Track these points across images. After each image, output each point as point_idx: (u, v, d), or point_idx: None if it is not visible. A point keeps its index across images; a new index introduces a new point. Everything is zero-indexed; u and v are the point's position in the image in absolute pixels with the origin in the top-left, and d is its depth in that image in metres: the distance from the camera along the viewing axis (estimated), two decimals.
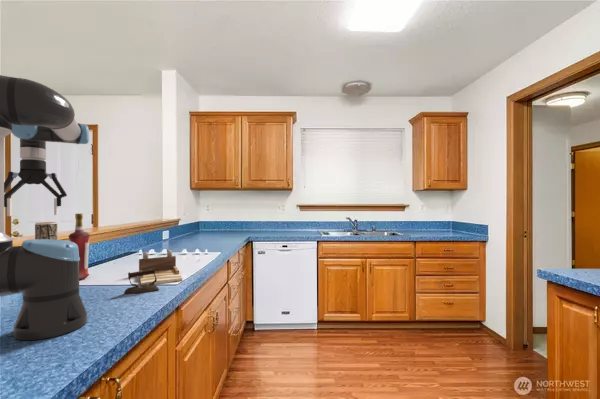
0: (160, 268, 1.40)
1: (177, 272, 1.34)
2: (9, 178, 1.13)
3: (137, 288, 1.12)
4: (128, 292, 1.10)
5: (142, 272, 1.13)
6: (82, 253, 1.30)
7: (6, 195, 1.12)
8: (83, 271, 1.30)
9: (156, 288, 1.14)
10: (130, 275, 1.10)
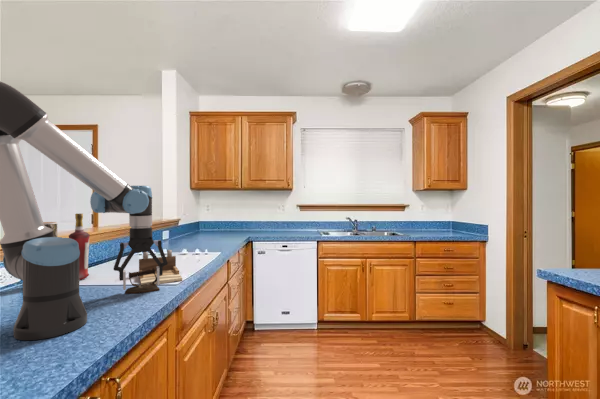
0: None
1: (177, 272, 1.34)
2: (121, 250, 1.10)
3: (138, 288, 1.12)
4: (129, 292, 1.10)
5: (143, 272, 1.13)
6: (82, 253, 1.30)
7: (122, 268, 1.10)
8: (83, 271, 1.30)
9: (157, 288, 1.14)
10: (131, 275, 1.10)
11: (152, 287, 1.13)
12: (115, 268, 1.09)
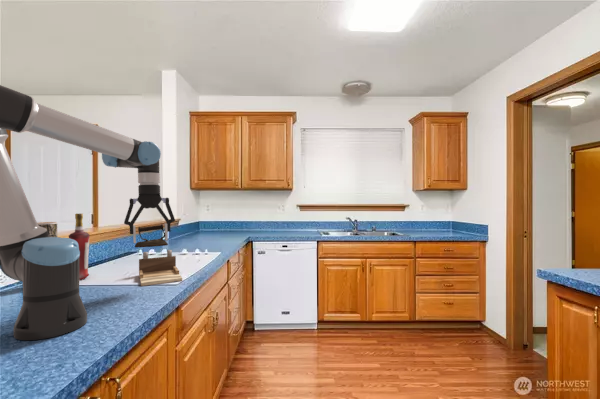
0: (160, 268, 1.40)
1: (177, 272, 1.34)
2: (131, 205, 1.15)
3: (147, 242, 1.17)
4: (139, 245, 1.15)
5: (151, 227, 1.18)
6: (82, 253, 1.30)
7: (132, 222, 1.15)
8: (83, 271, 1.30)
9: (165, 242, 1.19)
10: (140, 229, 1.15)
11: (161, 242, 1.18)
12: (125, 222, 1.14)
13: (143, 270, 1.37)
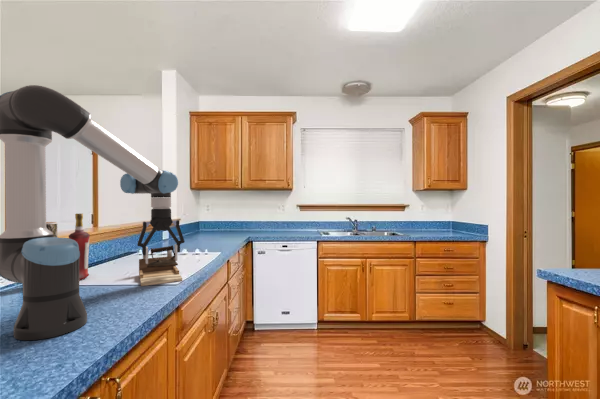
0: (160, 268, 1.40)
1: (177, 272, 1.34)
2: (144, 228, 1.22)
3: (158, 262, 1.24)
4: (151, 266, 1.23)
5: (163, 248, 1.25)
6: (82, 253, 1.30)
7: (145, 244, 1.22)
8: (83, 271, 1.30)
9: (175, 263, 1.27)
10: (152, 250, 1.23)
11: (171, 262, 1.26)
12: (139, 244, 1.21)
13: (143, 270, 1.37)
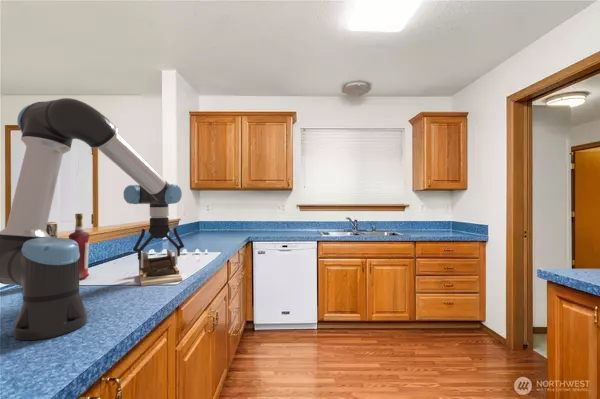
0: (160, 268, 1.40)
1: (177, 272, 1.34)
2: (142, 235, 1.30)
3: (157, 271, 1.31)
4: (149, 275, 1.30)
5: (161, 258, 1.33)
6: (82, 253, 1.30)
7: (140, 250, 1.29)
8: (83, 271, 1.30)
9: (172, 272, 1.34)
10: (151, 260, 1.30)
11: (169, 271, 1.33)
12: (134, 249, 1.28)
13: (143, 270, 1.37)
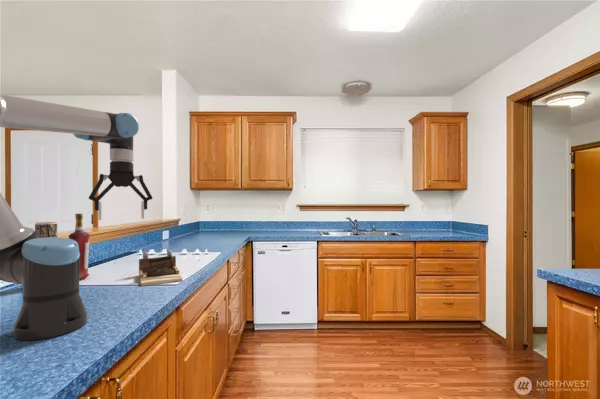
0: (160, 268, 1.40)
1: (177, 272, 1.34)
2: (100, 181, 1.09)
3: (157, 271, 1.31)
4: (149, 275, 1.30)
5: (161, 258, 1.33)
6: (82, 253, 1.30)
7: (97, 198, 1.09)
8: (83, 271, 1.30)
9: (173, 272, 1.34)
10: (151, 260, 1.30)
11: (169, 271, 1.33)
12: (90, 197, 1.08)
13: (143, 270, 1.37)
